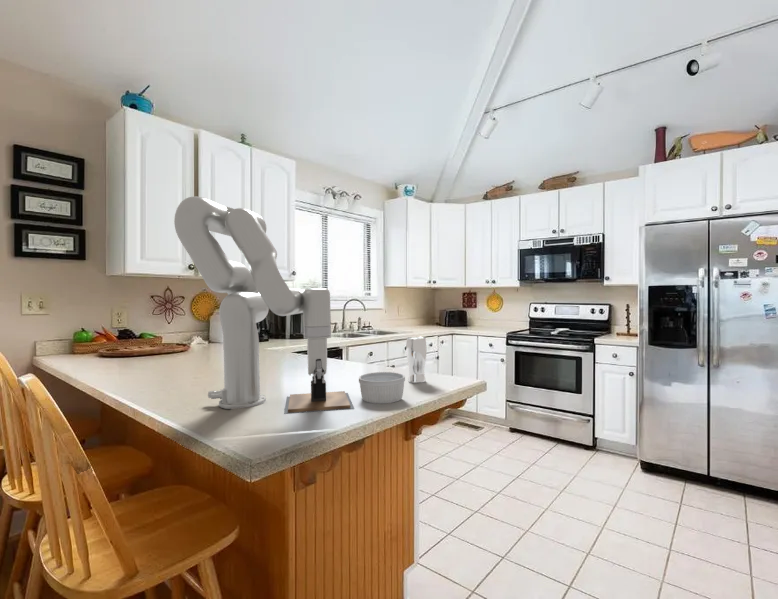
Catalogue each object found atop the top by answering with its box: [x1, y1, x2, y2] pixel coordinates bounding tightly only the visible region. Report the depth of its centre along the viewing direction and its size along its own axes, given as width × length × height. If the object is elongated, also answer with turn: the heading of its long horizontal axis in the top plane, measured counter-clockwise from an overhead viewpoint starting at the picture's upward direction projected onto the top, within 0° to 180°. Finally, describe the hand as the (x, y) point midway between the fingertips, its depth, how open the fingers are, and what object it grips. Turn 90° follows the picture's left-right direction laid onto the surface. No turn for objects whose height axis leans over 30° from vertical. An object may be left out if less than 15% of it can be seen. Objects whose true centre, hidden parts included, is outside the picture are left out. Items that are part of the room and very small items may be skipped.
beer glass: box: [405, 336, 427, 384], centre depth 144 cm, size 7×7×15 cm
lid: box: [288, 379, 350, 413], centre depth 117 cm, size 16×16×6 cm
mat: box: [283, 392, 355, 415], centre depth 117 cm, size 18×18×1 cm
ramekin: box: [358, 371, 406, 404], centre depth 121 cm, size 13×13×7 cm
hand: (318, 393), depth 117 cm, fingers open, 9 cm apart
